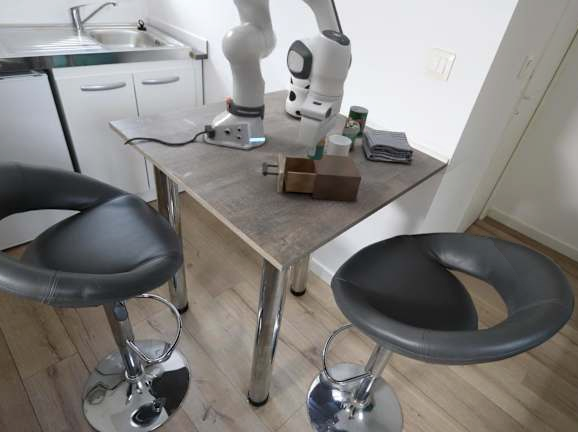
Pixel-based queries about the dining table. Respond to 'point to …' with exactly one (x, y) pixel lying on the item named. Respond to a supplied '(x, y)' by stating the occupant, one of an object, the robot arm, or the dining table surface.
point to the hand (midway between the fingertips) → (315, 151)
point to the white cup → (338, 145)
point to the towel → (387, 146)
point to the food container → (351, 131)
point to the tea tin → (318, 150)
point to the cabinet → (336, 178)
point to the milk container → (297, 96)
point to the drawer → (294, 174)
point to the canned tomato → (358, 117)
